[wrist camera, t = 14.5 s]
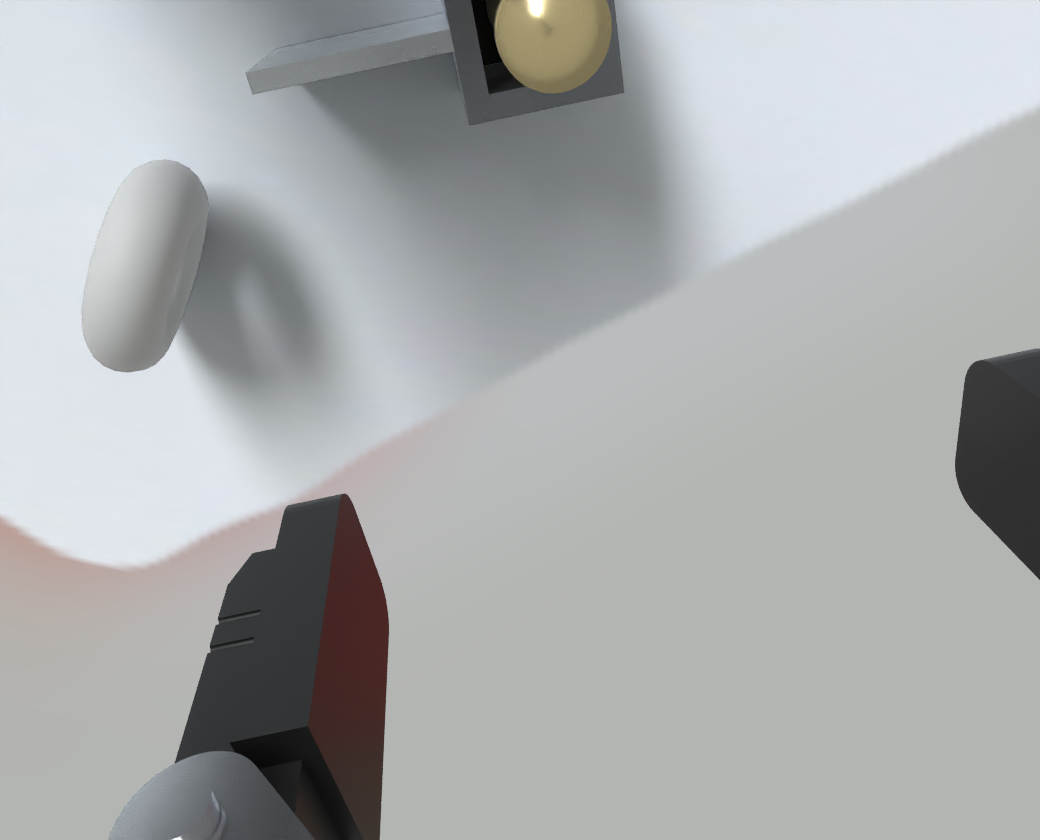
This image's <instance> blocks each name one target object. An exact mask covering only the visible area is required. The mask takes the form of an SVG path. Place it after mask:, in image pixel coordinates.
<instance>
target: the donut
mask: <svg viewBox="0 0 1040 840" xmlns="http://www.w3.org/2000/svg"><path fill="white" fill-rule="evenodd" d="M208 215H209V202H208V197H207V193H206V190H205V188H204V186H203V185H202V183H201V181H200V179H199V178H198V176H197V175H196V174H195V173H194V172H193V171H192V170H191V169H190V168H188V167H186V166H184V165H183V164H181V163H179V162H176V161H171V160H166V159H164V160H155V161H151V162H148V163H146V164H144V165H141V166H139V167H137V168H135V169H134V170H133V171H132V172H131V173H130V174H129V175H128V176H127V178H126V179H125V180H124V181H123V183H122V184H121V185H120V187H119V188H118V190H117V192H116V194H115V195H114V197H113V199H112V201H111V203H110V205H109V207H108V210H107V212H106V215H105V217H104V220H103V223H102V225H101V228H100V230H99V233H98V236H97V240H96V243H95V246H94V250H93V253H92V256H91V260H90V264H89V269H88V273H87V278H86V283H85V287H84V295H83V304H82V329H83V335H84V339H85V341H86V344H87V346H88V348H89V350H90V352H91V353H92V355H93V357H94V358H95V359H96V360H97V361H99V362H100V363H101V364H102V365H103V366H105V367H108V368H110V369H112V370H114V371H120V372H134V371H140V370H145V369H147V368H149V367H151V366H153V365H155V364H156V363H157V362H158V361H159V360H160V359H161V358H162V357H163V356H164V355H165V353H166V352H167V351H168V349H169V347H170V345H171V343H172V341H173V339H174V337H175V335H176V332H177V330H178V328H179V325H180V322H181V320H182V317H183V315H184V312H185V309H186V306H187V303H188V300H189V297H190V295H191V291H192V288H193V284H194V281H195V278H196V274H197V270H198V266H199V263H200V259H201V255H202V250H203V245H204V240H205V235H206V228H207V222H208Z"/></svg>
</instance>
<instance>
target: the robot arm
mask: <svg viewBox="0 0 1040 840" xmlns="http://www.w3.org/2000/svg"><path fill="white" fill-rule="evenodd" d="M955 471H956V477H957V481H958V485H959V488H960V491H961V493H962V495H963V497H964V499H965V501H966V502H967V504H968V505H969V507H970V508H971V509H972V510H973V511H974V512H975V513H976V514H977V515H978V516H979V517H980V519H981V520H982V521H983V522H984V523H985V524H986V525H987V526H988V527H989V528H990V529H991V530H992V531H993V532H994V533H995V534H996V535H997V536H998V537H999V538H1000V539H1001V540H1002V541H1003V542H1004V543H1005V544H1006V545H1007V546H1008V547H1009V549H1010V550H1012V552H1013V553H1014V554H1015V555H1016V556H1017V557H1018V558H1019V559H1020V560H1021V561H1022V562H1023V563H1024V564H1025V565H1026V566H1027V567H1028V568H1029V569H1030V570H1031V571H1032V572H1033V573H1034V574H1035V575H1036V576H1037V577H1038V579H1039V580H1040V349H1032V350H1027V351H1022V352H1017V353H1013V354H1008V355H1004V356H999V357H994V358H990V359H984V360H980V361H976V362H974V363H973V364H972V365H971V366H970V367H969V369H968V371H967V374H966V378H965V383H964V391H963V401H962V408H961V417H960V425H959V434H958V442H957V451H956V458H955ZM218 620H219V625H216V626H215V630H214V633H213V637H212V640H211V643H210V649H211V652H210V653H208V654H207V657H206V660H205V663H204V667H203V670H202V673H201V677H200V680H199V684H198V687H197V690H196V694H195V697H194V701H193V704H192V707H191V711H190V714H189V717H188V721H187V724H186V727H185V731H184V734H183V737H182V741H181V744H180V747H179V751H178V754H177V757H176V761H175V764H173V765H171V766H169V767H168V768H166V769H165V770H163V771H162V772H160V773H159V774H157V775H156V776H155V777H153V778H152V779H151V780H150V781H149V782H147V783H146V784H145V785H144V786H143V787H142V788H141V789H140V790H139V791H138V792H137V793H136V794H135V795H134V796H133V797H132V799H131V800H130V801H129V802H128V803H127V805H126V806H125V807H124V809H123V810H122V812H121V813H120V815H119V817H118V818H117V820H116V822H115V824H114V826H113V828H112V830H111V832H110V835H109V839H108V840H380V819H381V797H382V796H381V795H382V774H383V752H384V729H385V706H386V684H387V663H388V639H389V620H388V611H387V604H386V598H385V594H384V590H383V586H382V583H381V580H380V577H379V574H378V571H377V569H376V566H375V563H374V561H373V558H372V555H371V552H370V549H369V547H368V544H367V541H366V539H365V536H364V533H363V530H362V527H361V525H360V522H359V519H358V516H357V514H356V511H355V508H354V506H353V503H352V501H351V500H350V498H349V496H348V495H347V494H340V495H335V496H331V497H326V498H321V499H316V500H312V501H307V502H302V503H297V504H292V505H288V506H287V507H286V509H285V511H284V515H283V518H282V523H281V527H280V531H279V535H278V540H277V544H276V548H275V549H271V550H266V551H261V552H256V553H253V554H252V555H251V556H250V557H249V559H248V560H247V561H246V562H245V564H244V565H243V566H242V568H241V569H240V570H239V571H238V573H237V574H236V575H235V577H234V578H233V579H232V580H231V582H230V583H229V584H228V586H227V590H226V593H225V596H224V600H223V603H222V606H221V610H220V613H219V616H218Z"/></svg>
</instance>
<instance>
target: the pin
mask: <svg viewBox="0 0 1040 840" xmlns="http://www.w3.org/2000/svg"><path fill="white" fill-rule="evenodd" d="M487 14H488V17H489V20H490V22H491V24H492V26H493V27H494V36H495V42H496V46H497V50H498V52H499V55H500V57H501V59H502V61H503V63H504V64H505V66H506V67H507V69H508V70H509V71H510V73H511V74H512V75H513V76H514V77H515V78H516V79H517V80H518V81H519V82H520V83H522V84H523V85H525V86H527V87H528V88H531V89H533V90H535V91H539V92H543V93H561V92H566V91H569V90H572V89H574V88H576V87H578V86H580V85H582V84H583V83H585V82H586V81H587V80H588V79H590V78H591V77H592V75H593V74H594V73H595V72H596V71H597V70H598V68H599V67H600V65H601V64H602V62H603V60H604V58H605V56H606V54H607V51H608V48H609V45H610V40H611V32H612V22H611V14H610V9H609V6H608V3H607V1H606V0H487Z"/></svg>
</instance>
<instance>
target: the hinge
mask: <svg viewBox="0 0 1040 840" xmlns="http://www.w3.org/2000/svg"><path fill="white" fill-rule="evenodd" d="M606 1H607V3H608V6H609V9H610V14H611V22H612V32H611V40H610V45H609V48H608V51H607V54H606V56H605V58H604V60H603V62H602V64H601V65H600V67H599V68H598V70H597V71H596V72H595V73H594V74H593V75H592V77H591V78H590V79H588V80H587V81H586V82H585V83H583V84H582V85H580V86H578V87H576V88H574V89H572V90H569V91H566V92H561V93H543V92H539V91H535V90H533V89H531V88H528V87H527V86H525V85H523V84H522V83H520V82H519V81H518V80H517V79H516V78H515V77H514V76H513V75H512V74H511V73H510V71H509V70H508V69H507V67H506V66H505V64H504V63H503V62H500V63H495V64H491V65H486V66H483V62H482V56H481V51H480V46H479V41H478V35H477V30H476V25H475V19H474V14H473V9H472V4H471V0H442V4H443V9H444V13H441V14H437V15H432V16H427V17H422V18H418V19H413V20H408V21H404V22H399V23H394V24H390V25H385V26H380V27H376V28H371V29H366V30H362V31H357V32H352V33H347V34H343V35H338V36H333V37H329V38H324V39H319V40H315V41H310V42H305V43H301V44H296V45H291V46H287V47H282V48H277V49H276V50H274V51H273V52H272V53H270V54H269V55H268V56H267V57H265V58H264V59H263V60H261V61H260V62H259V63H257V64H256V65H255V66H253V67H252V68H251V69H250V70H248V71H247V72H246V76H247V79H248V82H249V85H250V88H251V91H252V94H257V93H262V92H266V91H271V90H276V89H281V88H285V87H290V86H295V85H299V84H304V83H309V82H313V81H318V80H323V79H327V78H332V77H337V76H341V75H346V74H351V73H356V72H360V71H365V70H370V69H374V68H379V67H384V66H388V65H393V64H398V63H402V62H407V61H412V60H416V59H421V58H426V57H431V56H435V55H440V54H445V53H449V52H453V57H454V62H455V67H456V71H457V76H458V81H459V86H460V91H461V95H462V99H463V103H464V106H465V110H466V114H467V118H468V121H469V125H474V124H478V123H483V122H488V121H492V120H497V119H502V118H506V117H511V116H516V115H521V114H525V113H530V112H535V111H539V110H544V109H549V108H553V107H558V106H563V105H567V104H572V103H577V102H582V101H586V100H591V99H596V98H600V97H605V96H610V95H614V94H619V93H624V88H623V79H622V70H621V61H620V51H619V42H618V33H617V24H616V14H615V5H614V0H606Z"/></svg>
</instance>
